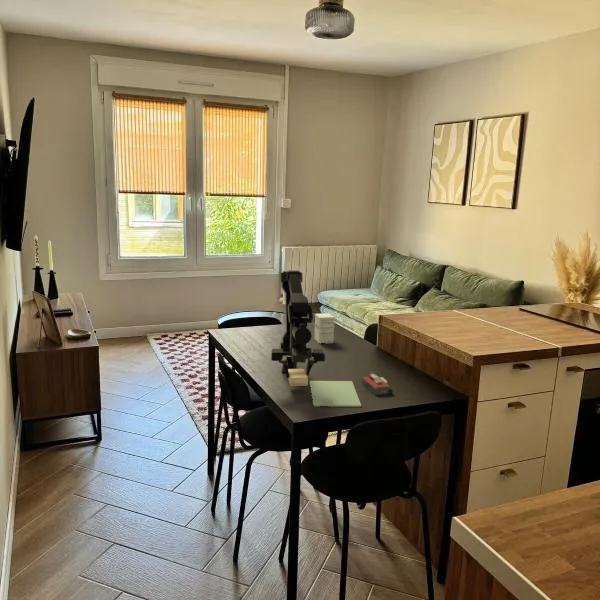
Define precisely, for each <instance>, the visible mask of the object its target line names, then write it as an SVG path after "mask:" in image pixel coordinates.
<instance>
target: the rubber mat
mask: <svg viewBox="0 0 600 600" xmlns="http://www.w3.org/2000/svg"><path fill="white" fill-rule="evenodd" d="M308 383H309V387H311V388H310V393H312V394H311V399H313V400H312V404H313V405H314V406H313V407H320V406H328V407H329V406H330V407H331V408H332V407H337V408H338V407H342V408H343V407H345V408H346V407H347V408H349V407H351V408H353V407H354V408H355V407H357V408H358V407H359V408H361V407H362V404H361V401H360V399H359V396H358V394H357V390H356V388H355V386H354V383H353V381H352V380H308Z"/></svg>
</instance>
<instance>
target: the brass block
mask: <svg viewBox="0 0 600 600" xmlns="http://www.w3.org/2000/svg"><path fill="white" fill-rule="evenodd" d="M288 372H289V378H287V380H288V382H289V386H290V387H303V386H305V387H306V386H309V375H308V376H307V374H306V371H305V369H304V368H298V369H288Z"/></svg>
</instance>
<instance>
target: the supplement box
mask: <svg viewBox="0 0 600 600" xmlns="http://www.w3.org/2000/svg"><path fill="white" fill-rule="evenodd" d="M334 335H335V316H333V315H332V314H331V313H328V312H327V313H325V312H324V313H315V315H314V338H313V339H314V341H316V342H317V343H318V344H319V343H320V344H321V343H325V344H333V343H334V337H335V336H334ZM320 344H319V345H320ZM321 345H322V344H321Z"/></svg>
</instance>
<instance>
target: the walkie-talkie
mask: <svg viewBox="0 0 600 600" xmlns="http://www.w3.org/2000/svg"><path fill="white" fill-rule="evenodd" d="M367 375H368V376H363V377H362V379H361V385H362V386H363V387H364V388H366V390H368V391H369V392H370V393H371V394H373V395H375V396H381V395H382V396H383V395H390V394H392V393H393V392H394V391H393V389H392V388H391V386H390V385H389V384H388V381H387V380H386V379H385V377H383V376H381V377H380V376H378V375H377V374H376V373H375V372H373V371H370V374H367Z"/></svg>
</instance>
